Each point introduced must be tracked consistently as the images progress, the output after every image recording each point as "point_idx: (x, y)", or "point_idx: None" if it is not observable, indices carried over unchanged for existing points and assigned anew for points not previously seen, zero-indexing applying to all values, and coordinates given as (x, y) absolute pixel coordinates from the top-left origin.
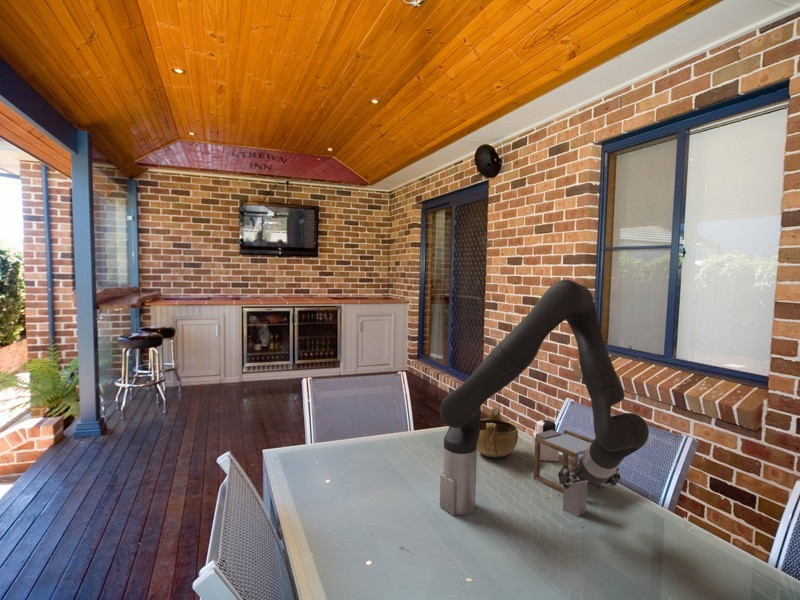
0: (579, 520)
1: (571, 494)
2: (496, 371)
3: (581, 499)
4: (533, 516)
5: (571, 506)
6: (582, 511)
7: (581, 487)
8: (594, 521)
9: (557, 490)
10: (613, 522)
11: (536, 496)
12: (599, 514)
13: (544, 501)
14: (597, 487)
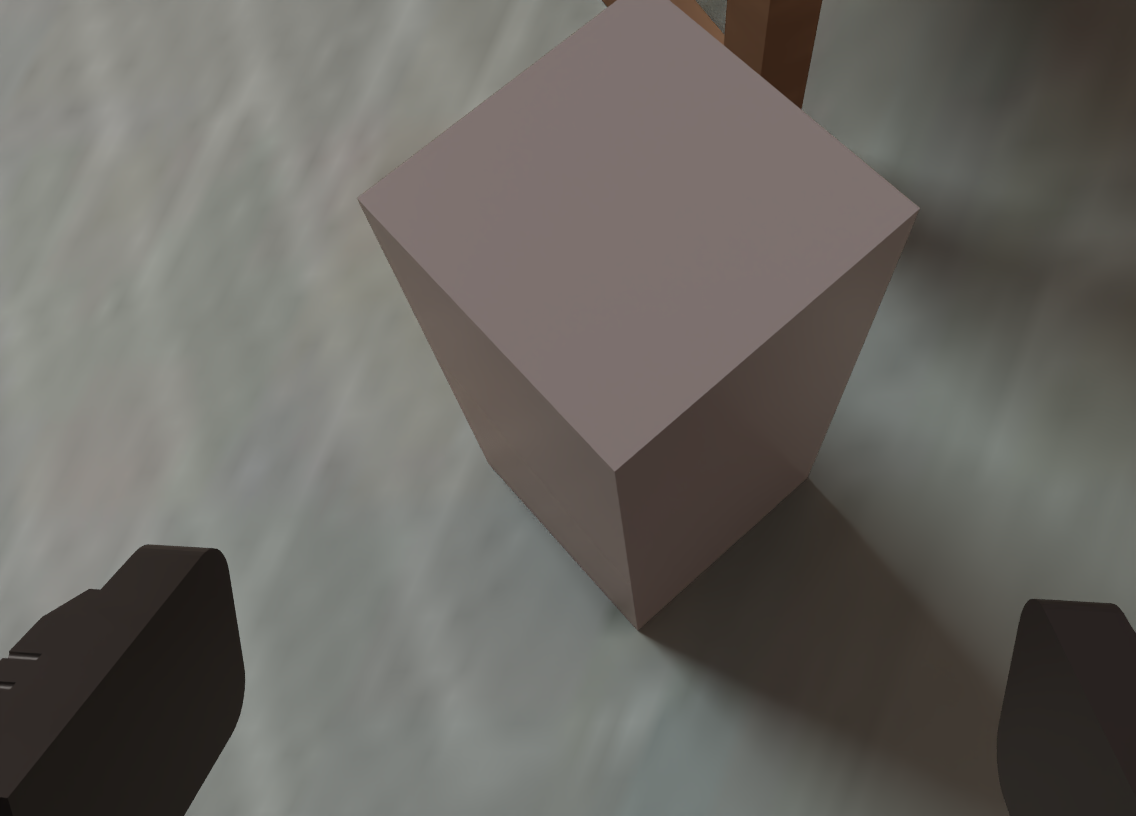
0: (615, 732)
1: (529, 461)
2: None
3: (701, 521)
4: (14, 635)
5: (556, 525)
6: (728, 542)
7: (696, 457)
8: (832, 758)
9: (607, 4)
10: None
11: (283, 148)
12: (977, 559)
13: (332, 258)
14: (1013, 738)
